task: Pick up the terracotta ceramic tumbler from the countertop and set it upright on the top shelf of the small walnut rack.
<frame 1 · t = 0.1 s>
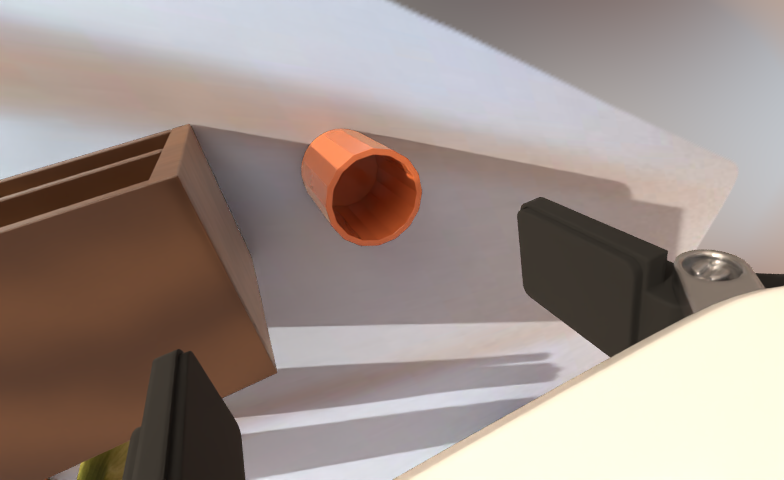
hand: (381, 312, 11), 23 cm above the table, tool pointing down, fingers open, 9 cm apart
fennel bulb: (137, 402, 34), on the table
tumbler: (341, 169, 33), on the table
rack: (123, 231, 29), on the table
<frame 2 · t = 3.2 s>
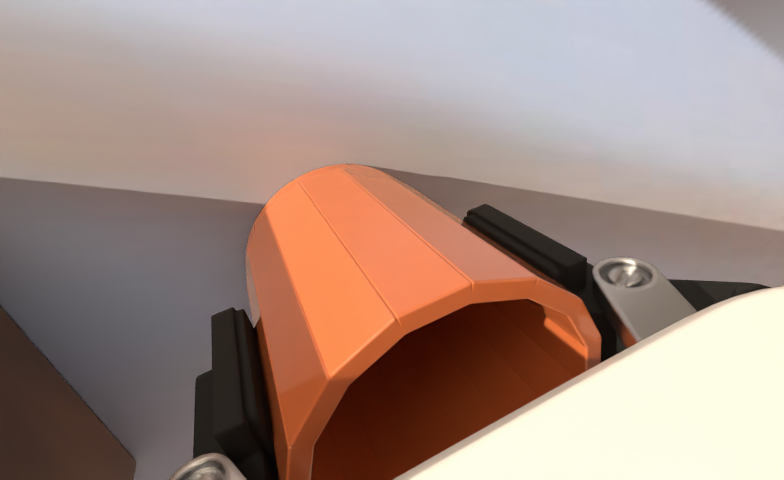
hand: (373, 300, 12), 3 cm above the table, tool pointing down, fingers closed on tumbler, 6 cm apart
tumbler: (343, 255, 14), on the table, touching gripper
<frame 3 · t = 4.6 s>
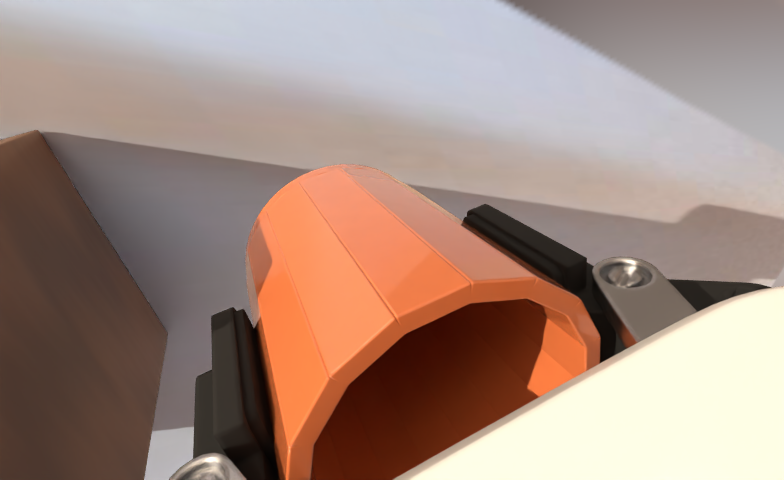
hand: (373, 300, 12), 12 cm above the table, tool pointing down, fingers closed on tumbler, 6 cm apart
tumbler: (343, 255, 14), point 9 cm above the table, touching gripper
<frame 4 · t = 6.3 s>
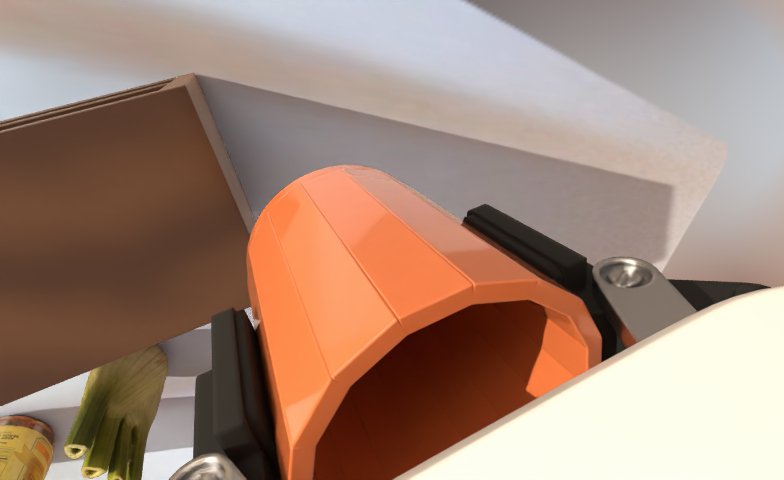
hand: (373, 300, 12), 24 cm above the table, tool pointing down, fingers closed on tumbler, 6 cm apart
sauce bottle: (13, 436, 34), on the table
fennel bulb: (137, 353, 35), on the table
tumbler: (344, 256, 14), point 21 cm above the table, touching gripper
rack: (128, 177, 30), on the table
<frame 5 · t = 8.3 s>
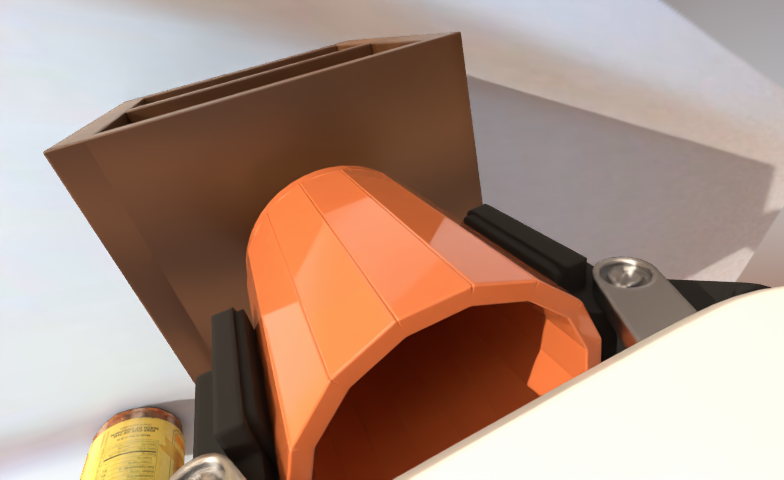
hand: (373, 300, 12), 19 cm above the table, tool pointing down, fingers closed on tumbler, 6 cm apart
sauce bottle: (142, 429, 32), on the table
tumbler: (343, 256, 14), point 16 cm above the table, touching gripper
rack: (275, 154, 28), on the table
when the fingers open (17 cm above the table, at t = 9.6 s): tumbler stays where it is, resting on rack.
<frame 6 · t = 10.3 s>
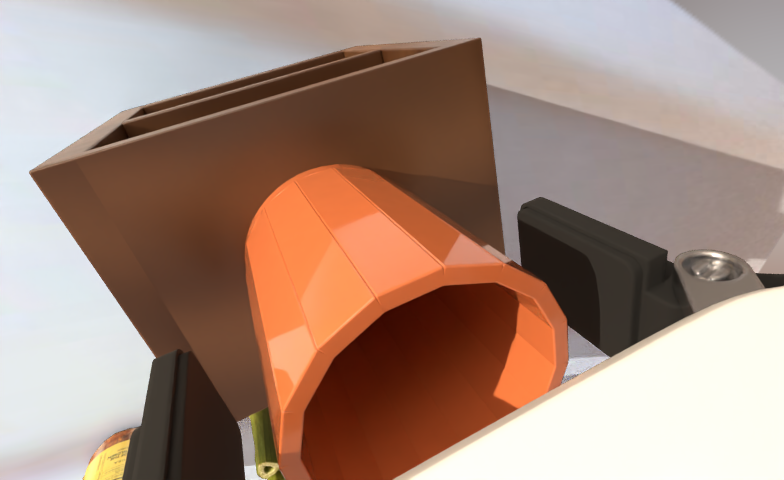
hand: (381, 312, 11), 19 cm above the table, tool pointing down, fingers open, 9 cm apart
sauce bottle: (140, 449, 31), on the table
fennel bulb: (268, 357, 32), on the table
tumbler: (337, 250, 15), point 14 cm above the table, touching rack
rack: (279, 164, 27), on the table
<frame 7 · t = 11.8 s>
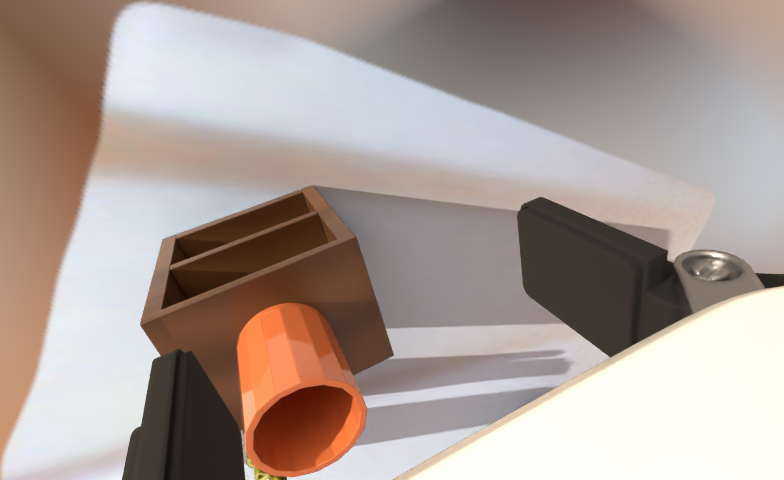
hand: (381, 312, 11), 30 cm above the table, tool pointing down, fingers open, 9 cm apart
tumbler: (285, 343, 29), point 14 cm above the table, touching rack
rack: (263, 260, 41), on the table
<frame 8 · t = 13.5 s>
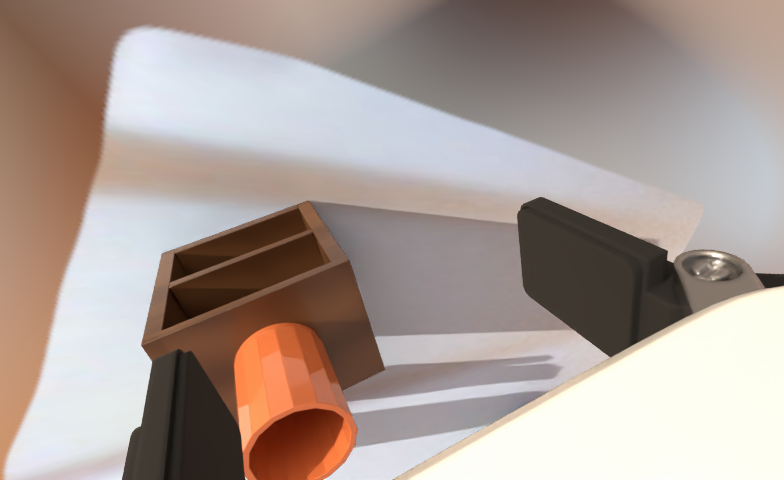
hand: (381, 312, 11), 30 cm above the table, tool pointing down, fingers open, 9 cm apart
tumbler: (280, 360, 30), point 14 cm above the table, touching rack
rack: (259, 273, 42), on the table
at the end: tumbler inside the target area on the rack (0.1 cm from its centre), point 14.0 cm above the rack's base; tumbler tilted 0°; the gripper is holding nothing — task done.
